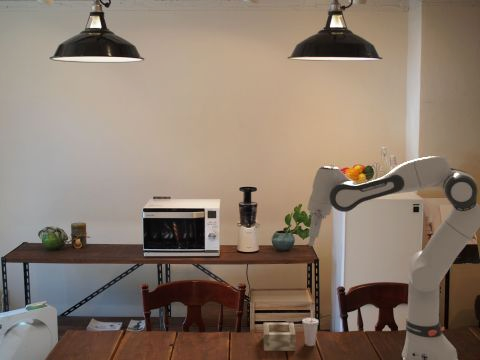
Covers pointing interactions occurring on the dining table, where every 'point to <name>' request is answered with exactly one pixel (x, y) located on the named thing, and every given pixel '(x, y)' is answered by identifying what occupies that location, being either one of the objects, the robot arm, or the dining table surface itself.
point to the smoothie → (310, 329)
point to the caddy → (279, 337)
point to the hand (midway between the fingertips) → (311, 241)
